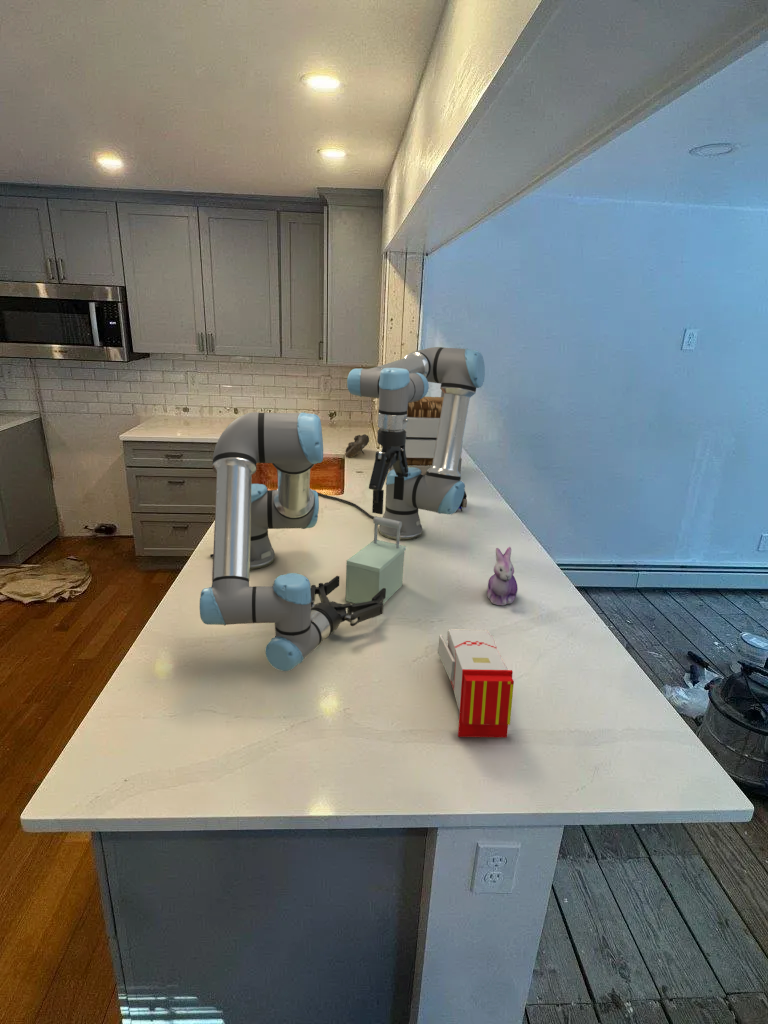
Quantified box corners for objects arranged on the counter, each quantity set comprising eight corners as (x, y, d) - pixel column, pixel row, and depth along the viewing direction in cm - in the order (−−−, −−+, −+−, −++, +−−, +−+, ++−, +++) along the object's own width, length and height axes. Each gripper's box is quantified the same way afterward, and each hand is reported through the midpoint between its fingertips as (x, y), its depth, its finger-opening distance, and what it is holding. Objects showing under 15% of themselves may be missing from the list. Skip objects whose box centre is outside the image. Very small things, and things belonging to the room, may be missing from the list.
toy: (488, 613, 130) (523, 677, 101) (484, 667, 133) (517, 744, 104) (435, 612, 130) (455, 676, 101) (432, 666, 133) (451, 743, 103)
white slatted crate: (382, 463, 289) (386, 382, 275) (445, 464, 293) (451, 384, 279) (390, 482, 257) (394, 392, 243) (460, 483, 261) (468, 394, 247)
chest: (372, 577, 167) (373, 544, 163) (402, 585, 163) (404, 551, 159) (345, 600, 153) (346, 564, 149) (377, 609, 149) (379, 573, 145)
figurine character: (467, 516, 223) (461, 500, 237) (469, 499, 220) (463, 483, 233) (450, 516, 223) (446, 499, 236) (452, 498, 220) (447, 483, 233)
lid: (374, 542, 164) (376, 513, 161) (405, 549, 160) (407, 519, 157) (346, 564, 149) (347, 532, 146) (379, 572, 145) (381, 539, 142)
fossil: (345, 440, 315) (366, 425, 310) (356, 453, 318) (377, 439, 313) (338, 454, 296) (361, 438, 291) (350, 468, 298) (372, 452, 293)
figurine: (499, 610, 151) (506, 558, 146) (476, 593, 160) (482, 544, 155) (527, 603, 156) (534, 553, 151) (503, 587, 164) (509, 539, 159)
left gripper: (272, 624, 136) (319, 588, 154) (365, 653, 126) (403, 611, 144) (272, 596, 133) (319, 563, 151) (366, 623, 123) (405, 584, 141)
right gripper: (384, 439, 136) (381, 522, 143) (422, 423, 157) (418, 496, 164) (356, 435, 139) (354, 516, 146) (398, 420, 160) (394, 491, 167)
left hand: (360, 586), depth 148 cm, fingers open, 13 cm apart
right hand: (388, 506), depth 155 cm, fingers open, 13 cm apart
